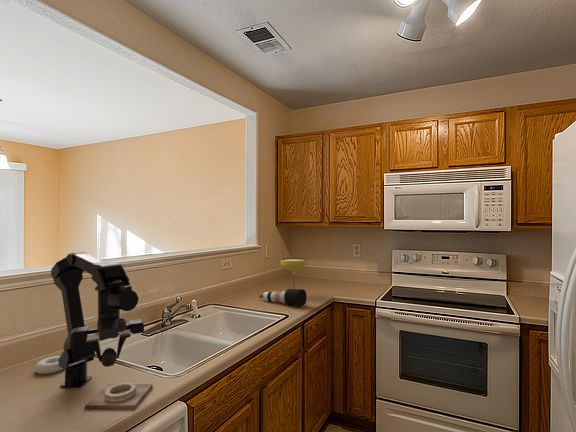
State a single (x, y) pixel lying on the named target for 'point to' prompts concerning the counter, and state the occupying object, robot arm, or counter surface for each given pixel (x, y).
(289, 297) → the bottle
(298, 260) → the cocktail glass
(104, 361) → the egg
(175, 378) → the counter surface
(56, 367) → the donut
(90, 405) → the egg stand
